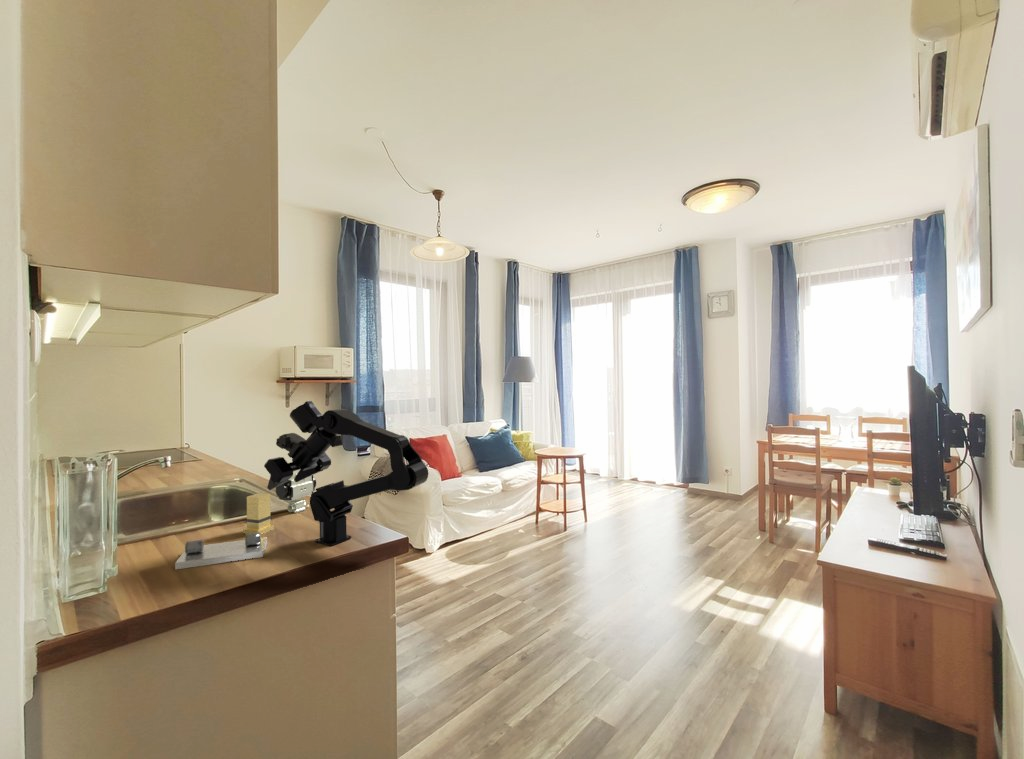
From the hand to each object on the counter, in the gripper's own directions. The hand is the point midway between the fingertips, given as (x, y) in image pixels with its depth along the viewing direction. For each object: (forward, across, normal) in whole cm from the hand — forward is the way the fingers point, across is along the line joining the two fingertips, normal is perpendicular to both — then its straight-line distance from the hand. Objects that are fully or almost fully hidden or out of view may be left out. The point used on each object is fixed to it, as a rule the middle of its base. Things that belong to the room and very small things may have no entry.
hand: (282, 484), depth 121 cm
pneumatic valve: (+18, -18, +2) cm, 25 cm away
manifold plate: (+11, +16, +8) cm, 21 cm away
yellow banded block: (+15, 0, +4) cm, 16 cm away
